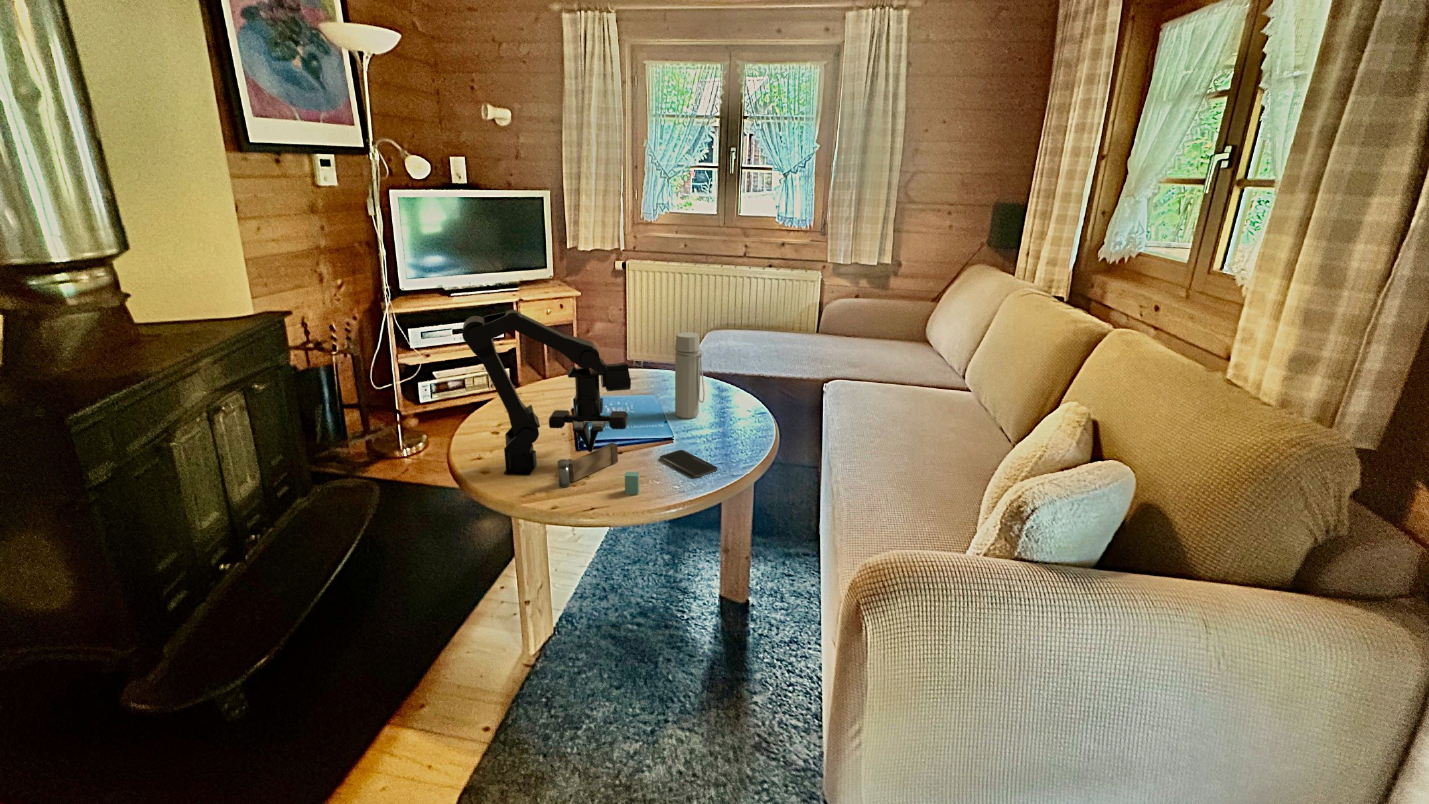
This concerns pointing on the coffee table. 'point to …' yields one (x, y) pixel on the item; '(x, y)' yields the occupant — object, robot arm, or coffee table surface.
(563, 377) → the coffee table surface
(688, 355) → the water bottle
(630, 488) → the block
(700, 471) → the phone
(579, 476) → the gate
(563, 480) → the hinge post
